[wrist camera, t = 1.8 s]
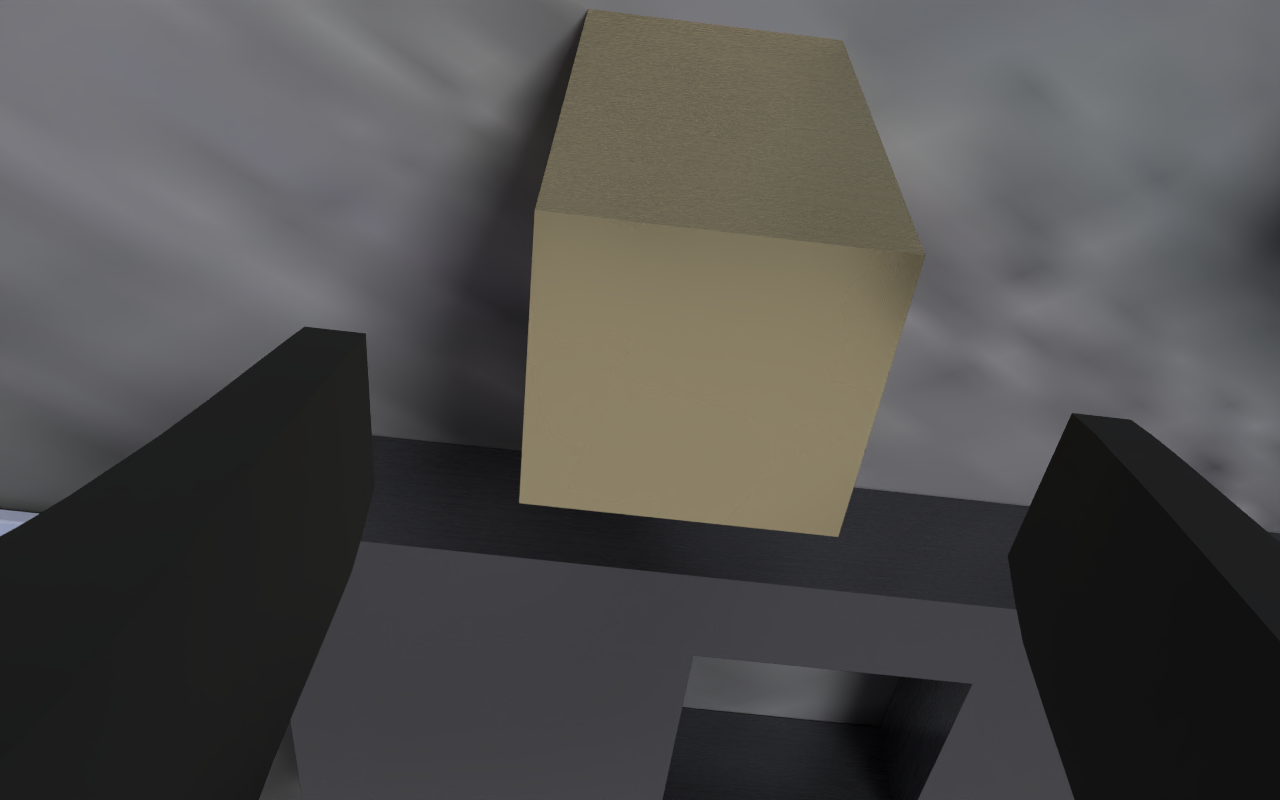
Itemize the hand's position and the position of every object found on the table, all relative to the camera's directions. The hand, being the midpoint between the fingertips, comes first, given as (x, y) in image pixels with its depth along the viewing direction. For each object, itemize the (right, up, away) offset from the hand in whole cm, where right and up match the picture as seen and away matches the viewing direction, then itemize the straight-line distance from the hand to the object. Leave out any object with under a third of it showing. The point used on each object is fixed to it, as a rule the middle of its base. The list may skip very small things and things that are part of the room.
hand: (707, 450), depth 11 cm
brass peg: (0, +5, +7) cm, 8 cm away
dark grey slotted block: (+3, -5, +14) cm, 15 cm away
